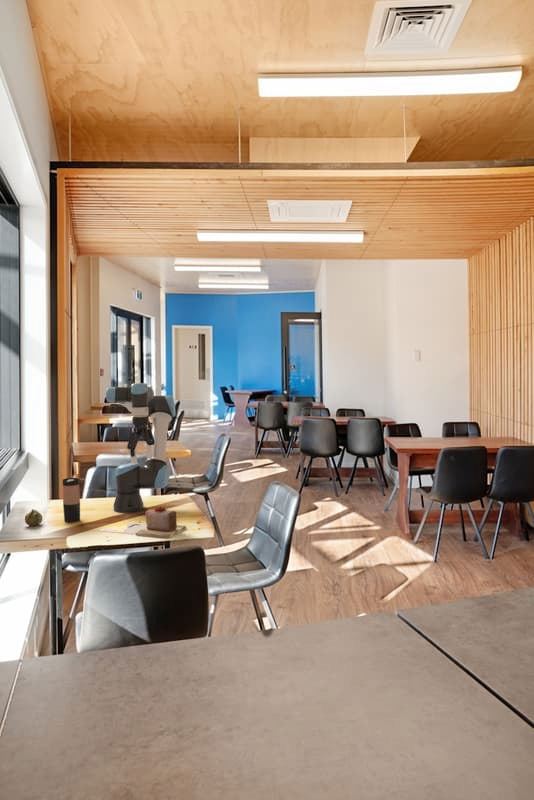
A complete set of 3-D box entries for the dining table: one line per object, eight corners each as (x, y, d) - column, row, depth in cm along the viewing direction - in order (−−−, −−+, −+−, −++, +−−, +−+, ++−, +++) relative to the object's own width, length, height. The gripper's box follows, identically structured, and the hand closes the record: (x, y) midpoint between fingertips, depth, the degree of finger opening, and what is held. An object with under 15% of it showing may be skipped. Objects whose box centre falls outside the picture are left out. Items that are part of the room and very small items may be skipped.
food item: (143, 529, 261) (142, 507, 261) (153, 525, 269) (152, 503, 268) (169, 532, 256) (169, 510, 255) (179, 528, 263) (178, 506, 263)
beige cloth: (155, 525, 272) (154, 523, 272) (186, 528, 267) (185, 525, 267) (135, 535, 258) (135, 532, 257) (168, 538, 252) (168, 535, 252)
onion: (46, 523, 279) (46, 507, 278) (33, 528, 272) (33, 511, 271) (34, 522, 282) (34, 505, 281) (21, 526, 275) (20, 509, 274)
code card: (119, 521, 280) (119, 521, 280) (152, 524, 274) (152, 524, 274) (98, 530, 265) (98, 530, 265) (133, 534, 259) (133, 533, 259)
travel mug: (76, 517, 289) (74, 477, 288) (83, 520, 284) (82, 479, 282) (61, 520, 284) (59, 479, 283) (68, 523, 278) (66, 481, 277)
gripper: (132, 418, 265) (134, 465, 267) (160, 413, 289) (162, 457, 290) (118, 418, 268) (119, 465, 269) (147, 413, 291) (148, 456, 293)
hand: (141, 461), depth 280 cm, fingers open, 13 cm apart
